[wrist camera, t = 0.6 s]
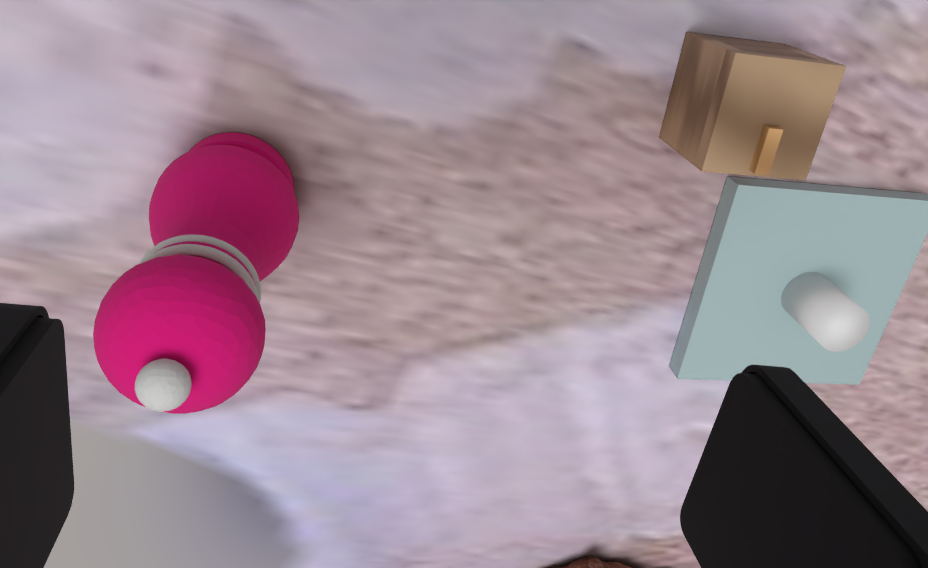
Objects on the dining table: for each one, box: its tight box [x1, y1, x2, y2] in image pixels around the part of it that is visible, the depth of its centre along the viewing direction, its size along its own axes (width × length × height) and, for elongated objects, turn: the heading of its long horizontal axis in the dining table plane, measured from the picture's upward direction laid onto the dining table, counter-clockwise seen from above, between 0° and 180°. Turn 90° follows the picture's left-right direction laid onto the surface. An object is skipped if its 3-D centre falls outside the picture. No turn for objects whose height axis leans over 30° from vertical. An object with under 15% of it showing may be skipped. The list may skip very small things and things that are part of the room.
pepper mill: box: [93, 132, 299, 413], centre depth 33 cm, size 7×7×20 cm
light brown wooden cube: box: [659, 32, 846, 180], centre depth 40 cm, size 6×6×7 cm
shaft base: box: [669, 176, 928, 385], centre depth 47 cm, size 14×14×6 cm
